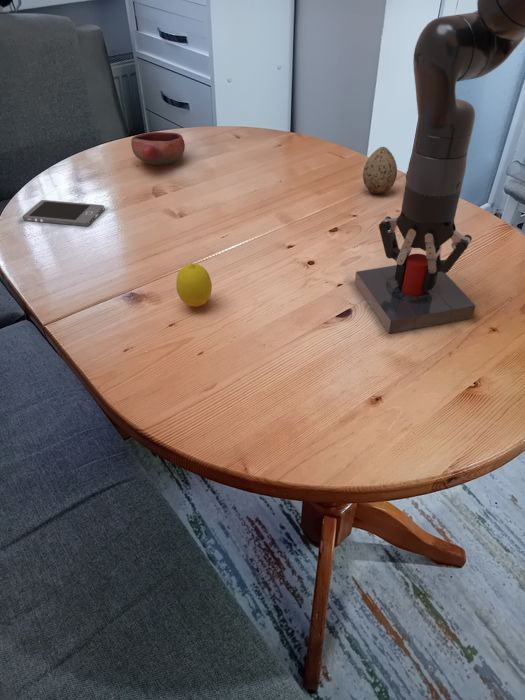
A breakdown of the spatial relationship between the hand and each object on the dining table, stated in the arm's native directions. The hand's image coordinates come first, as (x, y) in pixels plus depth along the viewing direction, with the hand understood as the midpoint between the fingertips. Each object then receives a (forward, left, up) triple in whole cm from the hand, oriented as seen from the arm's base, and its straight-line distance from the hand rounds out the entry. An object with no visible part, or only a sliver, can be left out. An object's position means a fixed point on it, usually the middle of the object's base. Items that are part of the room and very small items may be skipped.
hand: (413, 285), depth 86 cm
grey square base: (0, 0, -3) cm, 3 cm away
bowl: (+33, -68, -3) cm, 76 cm away
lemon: (+34, -8, -3) cm, 35 cm away
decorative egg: (-11, -39, -3) cm, 41 cm away
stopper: (0, 0, -1) cm, 1 cm away
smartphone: (+56, -48, -3) cm, 74 cm away
